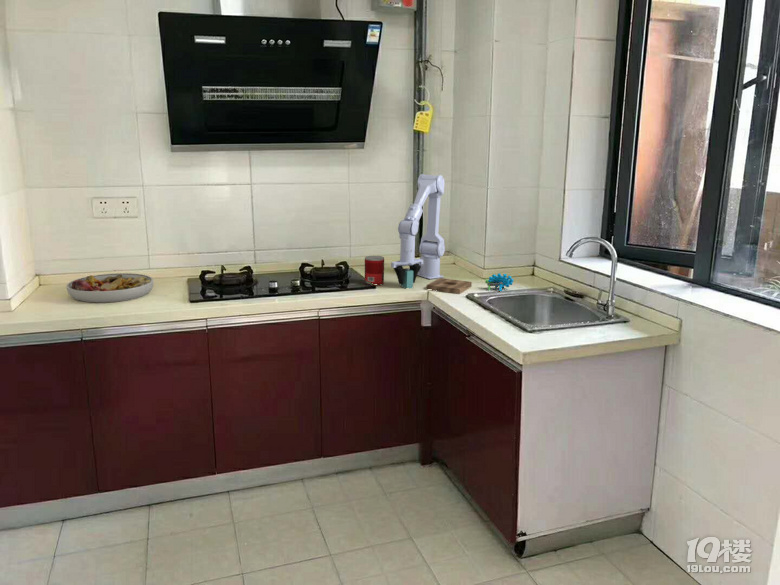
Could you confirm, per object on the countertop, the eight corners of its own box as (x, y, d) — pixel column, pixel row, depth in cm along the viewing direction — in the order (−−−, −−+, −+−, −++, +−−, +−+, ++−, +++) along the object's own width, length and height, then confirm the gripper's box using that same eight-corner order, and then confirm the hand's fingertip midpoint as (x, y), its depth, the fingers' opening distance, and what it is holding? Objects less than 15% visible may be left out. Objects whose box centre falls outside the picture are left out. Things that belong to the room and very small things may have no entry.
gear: (515, 284, 260) (511, 271, 252) (514, 297, 257) (511, 284, 249) (487, 286, 264) (483, 272, 256) (487, 298, 261) (482, 285, 253)
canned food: (386, 284, 264) (387, 258, 261) (368, 286, 261) (368, 259, 258) (380, 280, 270) (380, 255, 268) (362, 282, 268) (362, 256, 265)
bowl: (118, 281, 262) (116, 263, 260) (171, 291, 248) (169, 271, 247) (49, 298, 237) (47, 277, 235) (105, 309, 223) (102, 287, 221)
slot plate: (426, 289, 257) (426, 284, 256) (439, 282, 269) (439, 277, 268) (459, 294, 251) (459, 289, 250) (471, 286, 263) (471, 281, 262)
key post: (400, 286, 261) (401, 268, 259) (406, 285, 263) (407, 267, 261) (406, 288, 258) (407, 270, 256) (412, 287, 259) (413, 269, 257)
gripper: (398, 253, 249) (397, 287, 253) (428, 250, 257) (427, 283, 260) (388, 250, 255) (387, 283, 258) (417, 247, 263) (416, 279, 266)
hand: (406, 283), depth 260 cm, fingers open, 5 cm apart
